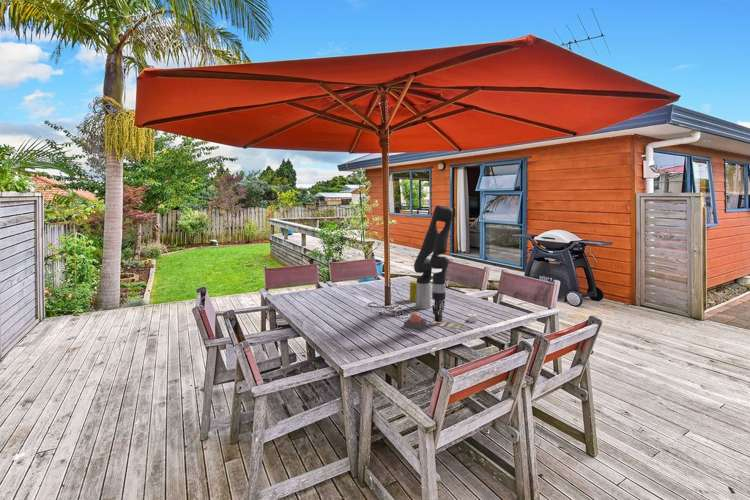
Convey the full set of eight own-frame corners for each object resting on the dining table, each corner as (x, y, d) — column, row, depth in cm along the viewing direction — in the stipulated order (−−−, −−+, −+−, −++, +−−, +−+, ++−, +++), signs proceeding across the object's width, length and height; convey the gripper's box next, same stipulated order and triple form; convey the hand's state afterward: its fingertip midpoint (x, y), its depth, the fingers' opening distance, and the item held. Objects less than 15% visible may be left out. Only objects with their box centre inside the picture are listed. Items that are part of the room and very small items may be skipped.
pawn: (433, 321, 213) (433, 308, 212) (436, 319, 217) (436, 307, 216) (440, 322, 211) (440, 309, 210) (443, 320, 215) (443, 308, 214)
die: (468, 323, 217) (469, 315, 216) (468, 321, 221) (468, 313, 220) (476, 323, 216) (476, 316, 215) (476, 321, 220) (476, 313, 219)
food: (408, 303, 267) (413, 301, 276) (424, 301, 262) (428, 298, 271) (404, 283, 267) (408, 281, 276) (419, 280, 262) (423, 278, 272)
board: (428, 326, 212) (428, 324, 212) (434, 321, 221) (434, 319, 221) (459, 331, 203) (459, 329, 203) (464, 326, 212) (464, 324, 211)
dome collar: (404, 328, 209) (403, 321, 209) (411, 323, 217) (411, 317, 217) (419, 331, 204) (419, 324, 204) (426, 326, 213) (426, 319, 212)
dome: (407, 324, 210) (407, 313, 209) (412, 321, 215) (412, 311, 214) (418, 325, 206) (418, 315, 206) (422, 322, 212) (422, 312, 211)
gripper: (440, 294, 204) (440, 324, 206) (449, 289, 216) (448, 317, 218) (427, 292, 208) (427, 322, 210) (437, 287, 220) (436, 315, 222)
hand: (438, 319), depth 214 cm, fingers closed on pawn, 4 cm apart
